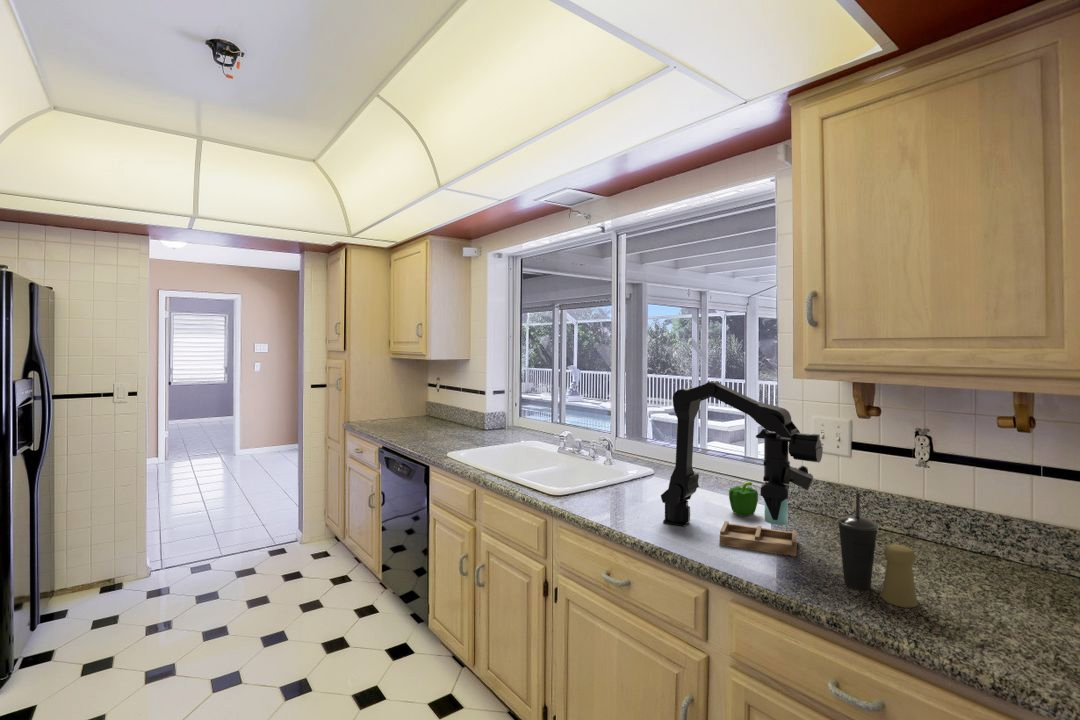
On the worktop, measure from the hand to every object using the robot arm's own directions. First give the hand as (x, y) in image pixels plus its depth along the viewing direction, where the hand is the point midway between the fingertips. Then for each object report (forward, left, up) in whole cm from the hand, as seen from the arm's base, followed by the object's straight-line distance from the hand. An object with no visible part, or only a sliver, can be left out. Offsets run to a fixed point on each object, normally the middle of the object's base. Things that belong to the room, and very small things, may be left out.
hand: (775, 516), depth 134 cm
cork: (+24, -21, -8) cm, 32 cm away
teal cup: (0, 0, -1) cm, 1 cm away
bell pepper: (-10, +23, -8) cm, 27 cm away
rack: (-4, 0, -8) cm, 9 cm away
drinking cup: (+17, -17, -8) cm, 25 cm away
